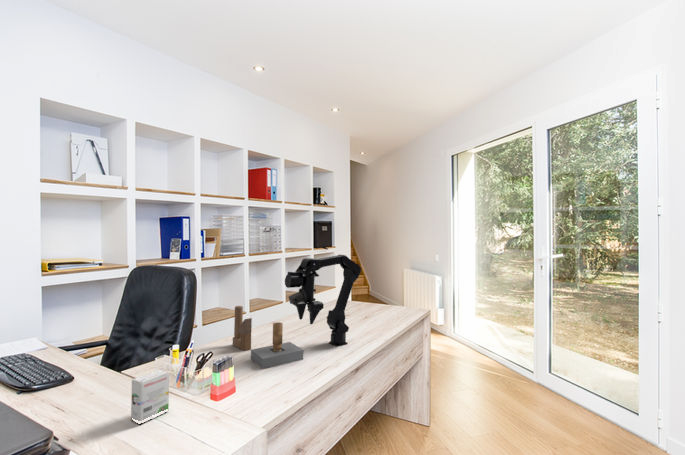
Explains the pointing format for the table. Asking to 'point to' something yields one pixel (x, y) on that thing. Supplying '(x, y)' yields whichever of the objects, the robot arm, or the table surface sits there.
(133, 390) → the ink box
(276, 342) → the teak leg
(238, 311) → the wooden block
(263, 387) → the table surface
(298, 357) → the seat board
